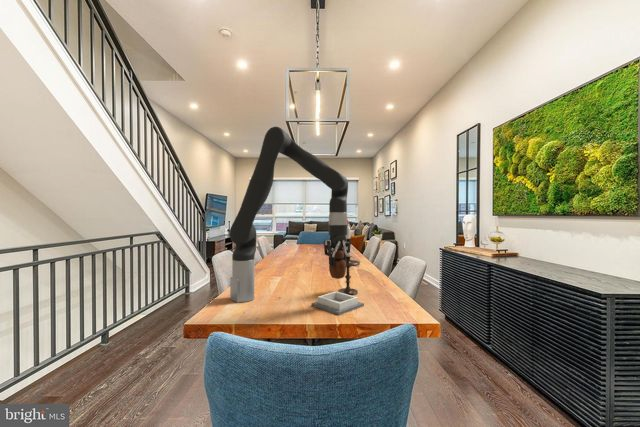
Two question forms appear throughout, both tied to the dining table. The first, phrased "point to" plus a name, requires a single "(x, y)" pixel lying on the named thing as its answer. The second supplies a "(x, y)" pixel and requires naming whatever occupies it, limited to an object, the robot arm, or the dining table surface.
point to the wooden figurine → (338, 265)
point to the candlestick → (348, 265)
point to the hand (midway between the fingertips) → (337, 265)
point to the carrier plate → (337, 303)
